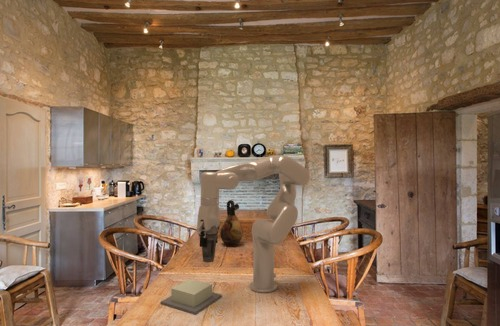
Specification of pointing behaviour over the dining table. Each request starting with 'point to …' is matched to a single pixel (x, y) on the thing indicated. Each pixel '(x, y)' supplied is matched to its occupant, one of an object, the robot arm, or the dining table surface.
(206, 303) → the plinth
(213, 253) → the beverage cup
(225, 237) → the ceramic jug
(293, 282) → the dining table surface
